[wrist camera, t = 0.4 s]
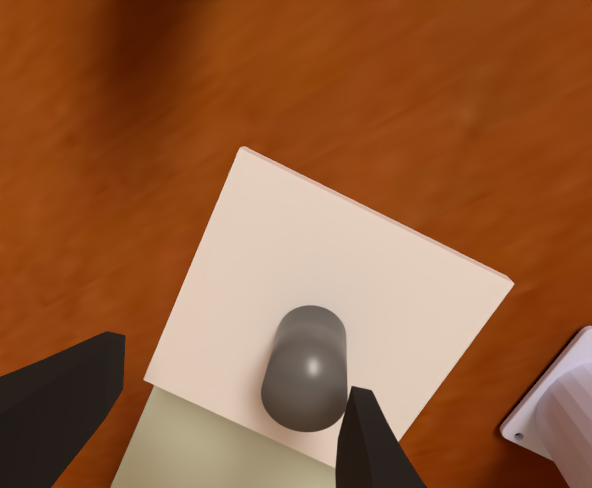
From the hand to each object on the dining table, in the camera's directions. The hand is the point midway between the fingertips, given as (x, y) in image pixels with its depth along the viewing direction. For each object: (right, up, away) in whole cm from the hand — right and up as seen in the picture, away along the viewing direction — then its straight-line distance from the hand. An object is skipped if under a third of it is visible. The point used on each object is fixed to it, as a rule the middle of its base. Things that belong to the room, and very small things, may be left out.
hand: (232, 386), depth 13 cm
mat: (-2, -10, +14) cm, 18 cm away
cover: (+3, +1, +6) cm, 7 cm away
